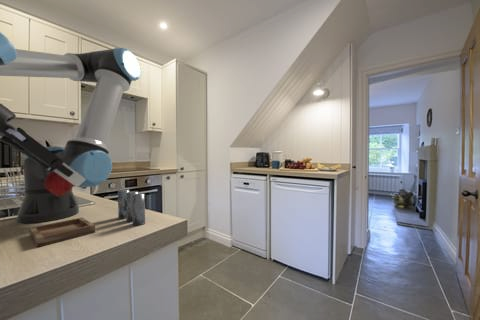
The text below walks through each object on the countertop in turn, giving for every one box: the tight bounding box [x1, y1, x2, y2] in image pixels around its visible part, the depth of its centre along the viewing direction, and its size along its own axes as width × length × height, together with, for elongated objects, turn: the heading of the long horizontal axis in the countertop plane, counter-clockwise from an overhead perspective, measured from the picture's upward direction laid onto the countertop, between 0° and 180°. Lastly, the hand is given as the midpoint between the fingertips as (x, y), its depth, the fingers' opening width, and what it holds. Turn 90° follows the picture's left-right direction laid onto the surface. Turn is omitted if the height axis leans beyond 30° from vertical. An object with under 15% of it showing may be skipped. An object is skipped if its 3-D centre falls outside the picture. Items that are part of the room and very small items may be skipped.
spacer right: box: [132, 192, 146, 227], centre depth 61 cm, size 3×3×9 cm
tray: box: [29, 217, 96, 248], centre depth 53 cm, size 11×11×2 cm
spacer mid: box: [126, 190, 139, 223], centre depth 64 cm, size 3×3×9 cm
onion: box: [44, 171, 74, 196], centre depth 52 cm, size 6×6×8 cm
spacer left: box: [117, 189, 131, 220], centre depth 67 cm, size 3×3×9 cm
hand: (77, 182), depth 55 cm, fingers closed on onion, 6 cm apart
